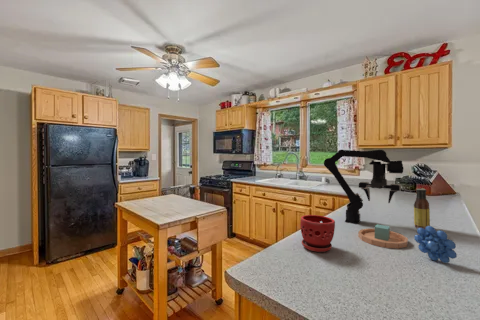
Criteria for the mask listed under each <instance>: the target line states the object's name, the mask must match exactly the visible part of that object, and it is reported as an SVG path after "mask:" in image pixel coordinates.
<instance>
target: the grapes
mask: <svg viewBox="0 0 480 320" xmlns="http://www.w3.org/2000/svg"><path fill="white" fill-rule="evenodd" d="M425 229H426V230H425ZM425 229H423V228H416V233H417V234H415V235H414V241H415V242H416V243H418V246H417V247H418V250H419V251H420V252H422V253H424V254H427V257H428V258H429V259H430V260H432V261H441V263H444V264H447V263H450V259H456V258H457V257H458V256H457V252H456V250H455V249H456V248H457V247H456V245H457V244H456V243H455V242H454V240H452V239H449V238H448V234H447V233H446V232H445V231H444V230H441V229H439V230H436V229H435V228H434V227H433V226H431V225H430V226H426V227H425Z"/></svg>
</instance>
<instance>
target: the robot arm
mask: <svg viewBox="0 0 480 320" xmlns="http://www.w3.org/2000/svg"><path fill="white" fill-rule="evenodd" d="M343 157H347V158H348V157H350V158H366V159H370V160H371V161H370V162H368V164H369V165H372V179H371V180H370V183H369V182H368V181H361V182H358V188H360V189H361V190H363V191H364V193H365V195H366V197H367V200H368V201H369V202H370V201H371V191H370V188H372V189H381V190H382V189H389V194H388V204H390V203H391V201H392V198H393V196H394V195H395V193H398V191H399V192H401V190H402V185H401V184H399V183H391V184H388V181H387V179H386V172H388V173H389V174H399V175H401V174H404V166H403V165H404V164H403V161H402V159H401V160H390V158H388V156H387V152H386V151H385V150H383V149H373V150H350V149H349V150H348V149H339V150H338V151H337V152H336V153H335V154H334V155H332V156H331V157H328V158H325V160H324V161H323V165H324V167H325V168H326V169H327V170H328V171H329V172H330V173H331V174H332V176H334V178H335V180H336V181H337V183H338V184H339V186H341V189H342V190H343V191H344V193H345V195H346V197H347V198H348V201H349V203H347V204H346V210H345V220H344V222H346V223H353V224H356V225H357V224H359V223H361V213H360V209H362V208H363V207H364V206H363V205H364V203H363V202H364V201H363V199H362V197H360V194H359V193H358V192H356V193H355V192H354V191H353V190H352V188H351V187H350V186H349V184H348V182H347V181H346V179H345V178H344V176H343V175H342V173H341V172H340V171H339V168H338V166H337V164H336V163H337V162H338V161H339V160H340V159H341V158H343Z"/></svg>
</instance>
